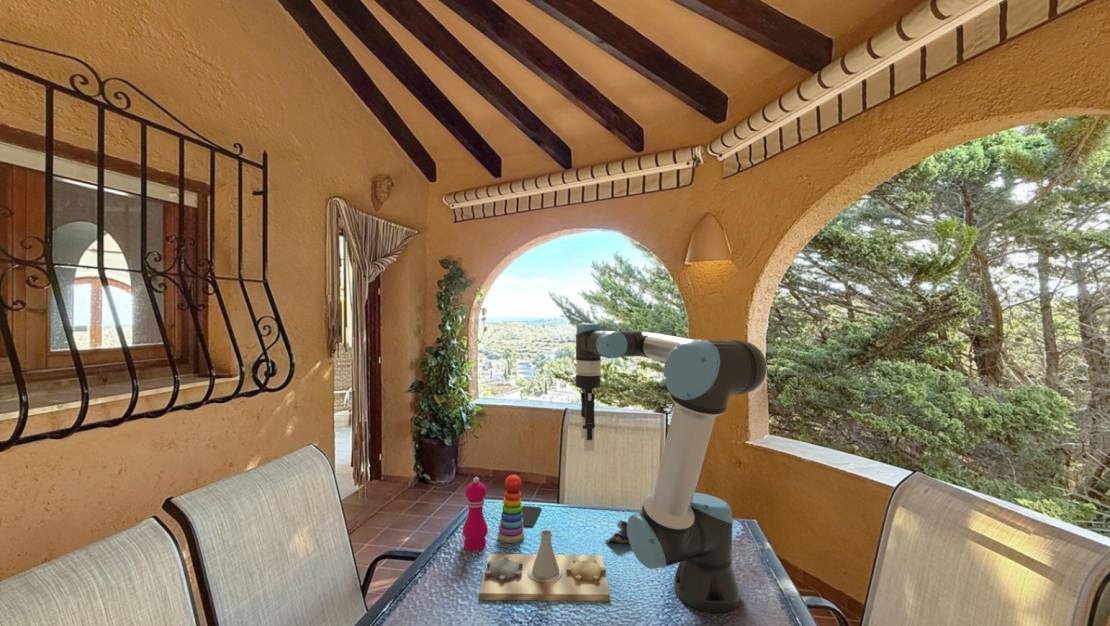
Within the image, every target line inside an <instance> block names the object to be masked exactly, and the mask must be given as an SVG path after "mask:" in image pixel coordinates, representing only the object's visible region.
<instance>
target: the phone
mask: <svg viewBox="0 0 1110 626" xmlns="http://www.w3.org/2000/svg"><path fill="white" fill-rule="evenodd" d="M542 509H543V508H542V507H540V506H530V505H529V506H528V505H522V513H523V516H522V518H523V527H524V528H527V529H528V528H531V529H532V528H534V526H535V525H536V523H537V521H538V519H539V516H540V514H541V512H542Z"/></svg>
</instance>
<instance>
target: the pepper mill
mask: <svg viewBox="0 0 1110 626" xmlns="http://www.w3.org/2000/svg"><path fill="white" fill-rule="evenodd" d="M486 495H487V488H486V486H485V484H484V483H483V482H480V478H479V477H477V476H475V477H473V479H472V482H470V483H469V484H468V485H467V486H466V488H465V496H466V498H467V500H466V502H467V503H466V506H467V507H468V514H467V517H466V520H465V522H464V524H463V527H462V536H463V538H464V541H463V548H464V550H465V551H469V552H478V551H482V550H483V549H485V547H486V546H487V539H486V536H487V535H488V534H489V533H488V532H489V530H488V525H487V521H486V519H485V517H484V513H483V511H484V510H483V506H484V505H485V497H486Z"/></svg>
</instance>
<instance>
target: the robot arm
mask: <svg viewBox="0 0 1110 626" xmlns="http://www.w3.org/2000/svg"><path fill="white" fill-rule="evenodd" d="M601 357H602V358H605V359H619V358H623V357H624V358H625V357H626V358H627V357H629V358H631V357H643V358H647V359H652V360H655V361H659V362H663V363H664V366H663V377H664V378H665V380H664V385H665V387H666V388H667V391H668V392H669V398H670V399H671V402H672V403H673V405H674V406H673V410H672V415H671V417H670V421H669V427H668V431H667V434H666V437H665V438H666V439H665V442H664V446H663V451H662V454H661V458H660V463H659V466H658V470H657V475H656V479H655V483H654V486H653V490H652V493H649V494H648V495H646V496H645V497H644V499H643V503H642V506H641V510H640V512H638V513H637V512H636V513H633V514H632V515H631V514H630V516H629V518H628V519H627V521H626V523H627V534H628V539H629V542H630V543H629V545H630V548H631V550H632V552H633V554H634V556H635V557H636V560H638V561H639V563H640V564H641V565H643V566H644V567H645V568H647V569H651V570H655V569H659V568H660V569H661V568H662V569H663V568H664V569H665V568H666V567H668V566H672V565H676V564H678V566H677V568H676V571H675V574H674V577H673V578H674V579H673V590H674V594H675V595H676V597H678V599H679V600H680V601H682V602H683V603H684V604H686V605H688V606H690V607H692V608H694V609H696V610H700V611H702V612H708V613H717V614H718V613H727V612H730V611H733V610H734V609H736V608H737V607H738V605H739V603H740V588H739V585H738V583H737V579H736V576H735V575H736V574H735V572H734V569H733V563H732V562H733V561H732V559H733V558H732V557H733V554H732V553H733V523H734V521H733V514H732V508H731V506H730V504H729V503H727V501H725V500H723V499H722V498H719V497H716V496H714V495H711V494H708V493H707V494H706V493H702V492H701V493H700V492H696V488H697V486H698V482H699V477H700V475H701V471H702V467H703V464H704V459H705V456H706V453H707V449H708V445H709V442H710V438H711V434H712V432H713V428H714V425H715V422H716V421H715V420H716V417H720V416H723V414H725V413H726V411H727V406H728V405H729V400H730V398H731V396H737V395H745V394H748V393H752V392H753V391H755V390H756V389H758V388H759V387H760V386H761V384H763V382H764V380H765V378H766V375H767V371H768V367H767V365H768V364H767V360H766V357H765V355H764V354H763V352H762V350H760V349H759V348H758V346H756V345H754V344H753V343H751V342H748V341H745V340H741V339H727V340H726V339H725V340H724V339H720V340H719V339H718V340H717V339H716V340H715V339H713V340H710V339H709V340H706V339H694V338H688V337H681V336H677V335H670V334H664V333H660V332H659V331H656V330H655V331H653V330H602V326H601V324H599V323H578V324H577V326H576V334H575V360H576V361H575V362H574V363H573V366H574V367H575V372H576V375H575V387H577V388H579V389H581V393H580V398H581V399H580V401H581V408H580V410H581V411H580V415H581V419H580V420H581V423H580V426H581V427H580V435H581V436H580V439H581V440H582V439H584V441H583V452H595V448H594V447H595V427H596V425H595V424H596V423H595V421H596V420H595V399H596V397H595V396H596V394H595V392H593V389H598V388H600V387H601V371H602V370H601V368H602V367H601V365H602V361H601V360H602V358H601Z"/></svg>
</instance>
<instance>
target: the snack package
mask: <svg viewBox="0 0 1110 626" xmlns="http://www.w3.org/2000/svg"><path fill="white" fill-rule="evenodd" d="M617 527H618V528H619V529H620V530H619V531H616V532H615V533H614V534H613V535H612V536H611V537H610V538H608V539H606V540H605V541H606V544H609V543H610V542H611V543H612V542H613V543H622V544H630V542H629V539H628V534H627V521H625V520H622V519H621V520H619V521H618V522H617Z"/></svg>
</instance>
